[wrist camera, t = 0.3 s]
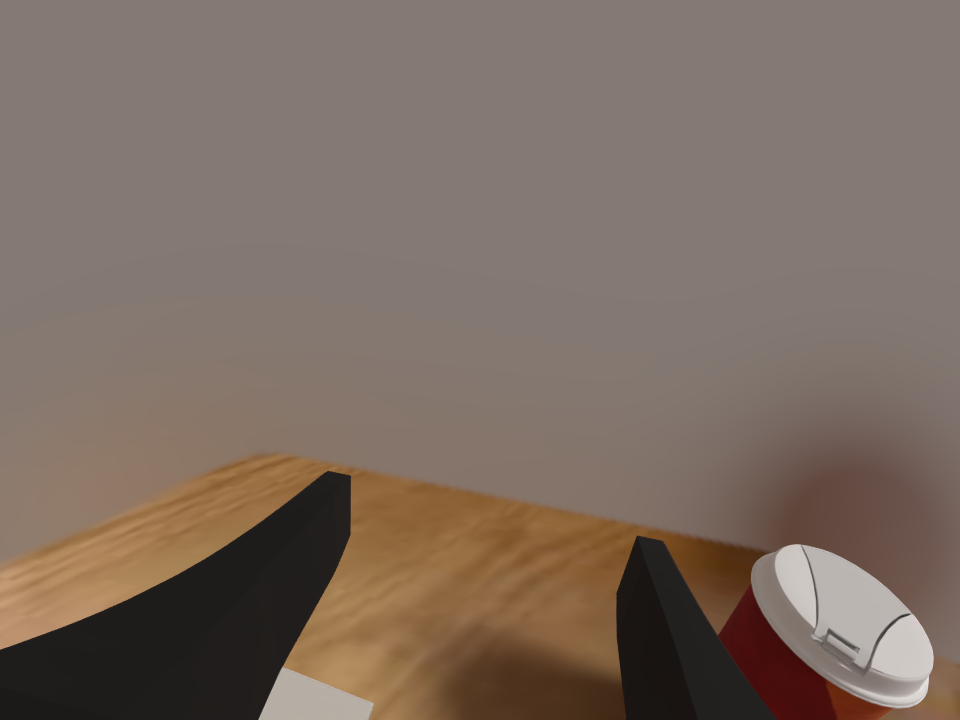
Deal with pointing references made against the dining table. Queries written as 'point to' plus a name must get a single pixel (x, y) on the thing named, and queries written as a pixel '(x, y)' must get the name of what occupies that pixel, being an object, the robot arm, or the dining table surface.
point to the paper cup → (826, 639)
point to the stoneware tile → (311, 701)
